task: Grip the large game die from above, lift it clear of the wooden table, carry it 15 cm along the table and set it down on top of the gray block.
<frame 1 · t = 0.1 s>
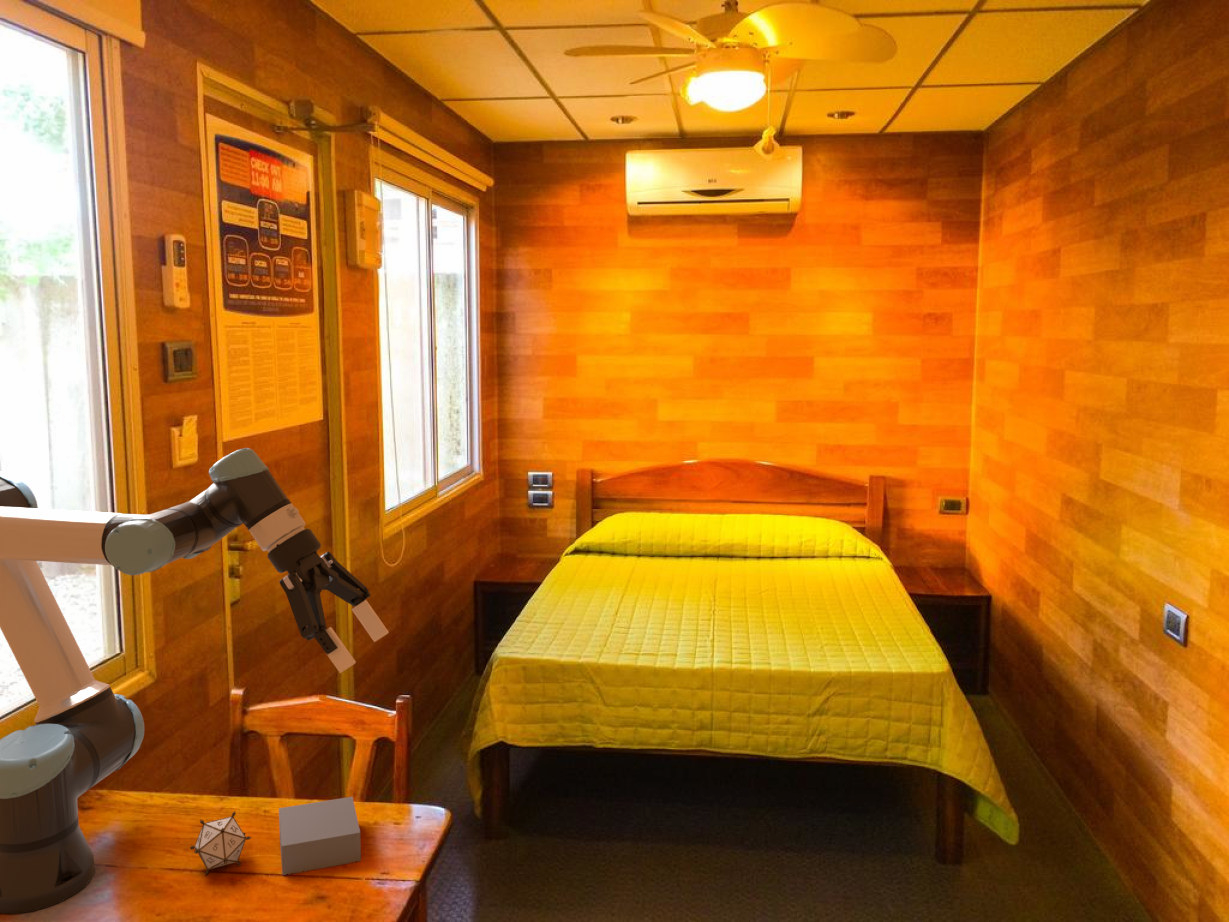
hand: (365, 652, 145), 36 cm above the table, tool tilted 35°, fingers open, 13 cm apart
game die: (221, 866, 149), on the table
gray block: (319, 848, 155), on the table
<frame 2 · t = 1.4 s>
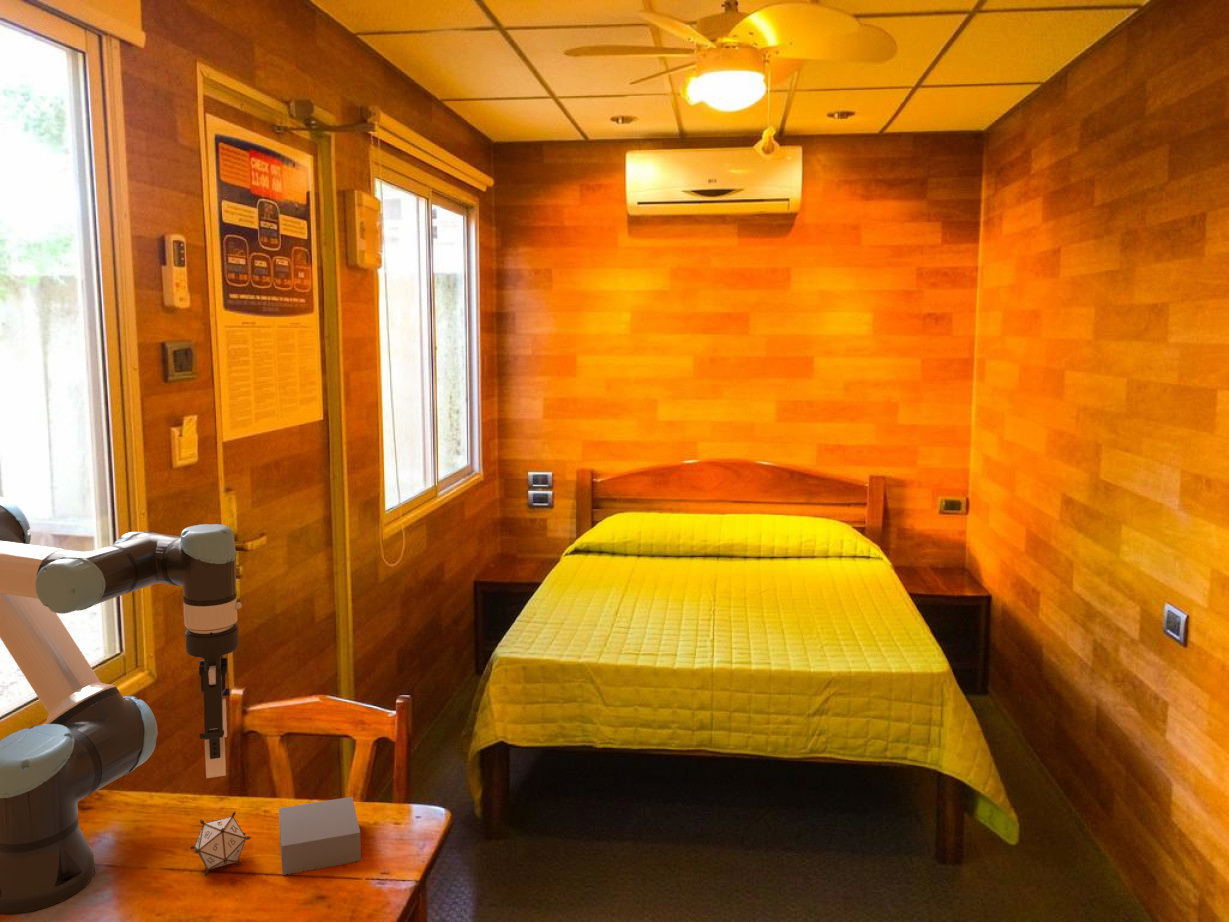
hand: (217, 755, 146), 19 cm above the table, tool pointing down, fingers open, 13 cm apart
nothing on the table moved.
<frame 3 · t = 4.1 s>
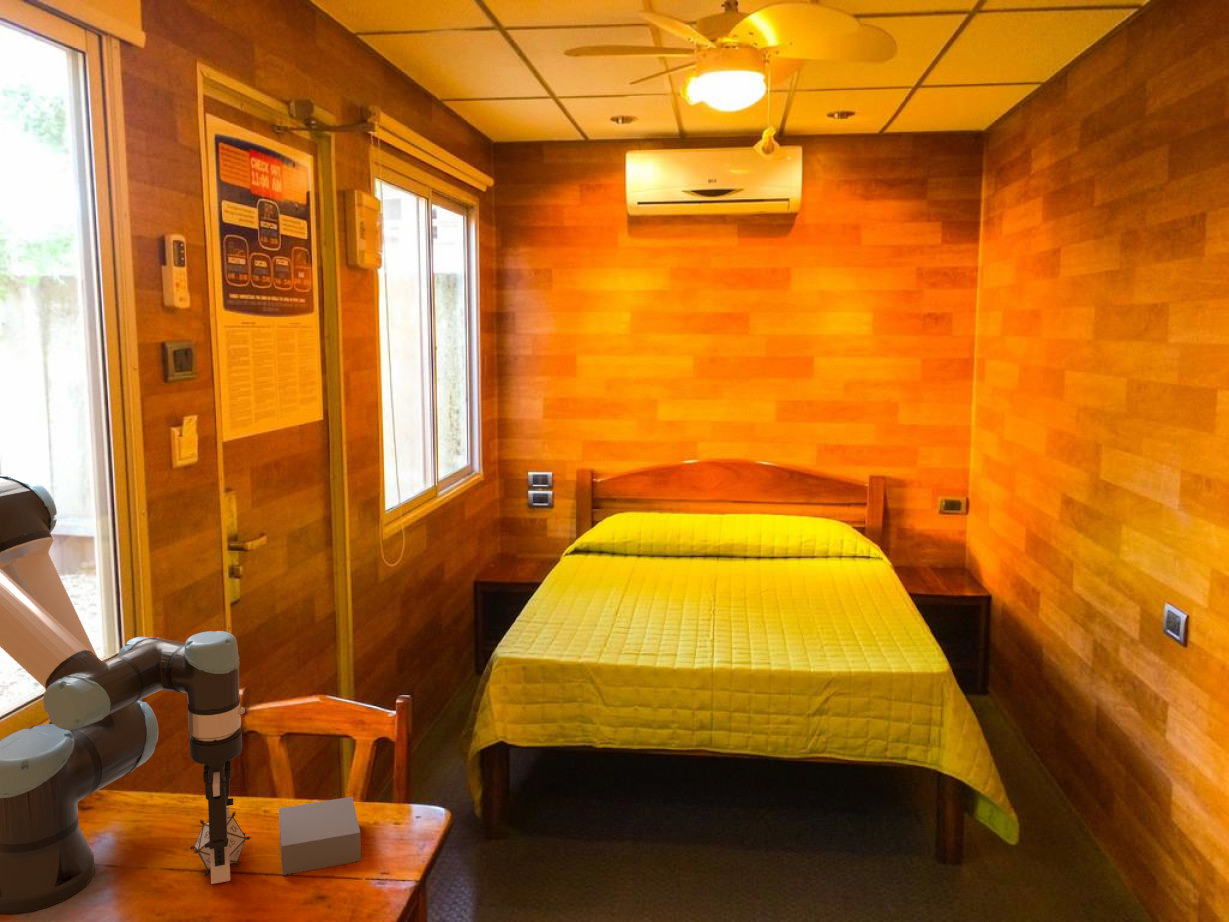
hand: (221, 863, 149), 0 cm above the table, tool pointing down, fingers closed on game die, 9 cm apart
game die: (221, 867, 149), on the table, touching gripper
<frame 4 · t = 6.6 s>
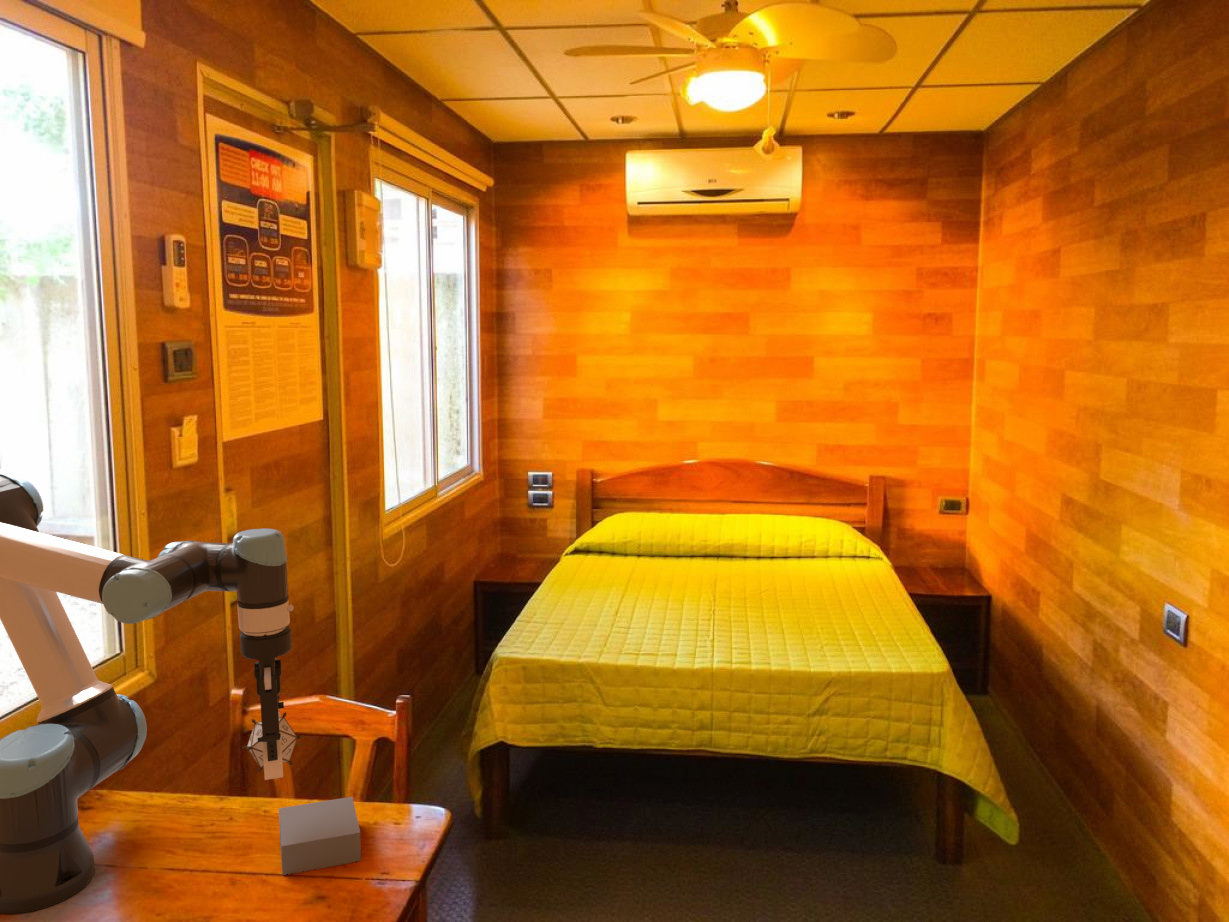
hand: (273, 763, 149), 16 cm above the table, tool pointing down, fingers closed on game die, 9 cm apart
game die: (273, 766, 149), point 16 cm above the table, touching gripper
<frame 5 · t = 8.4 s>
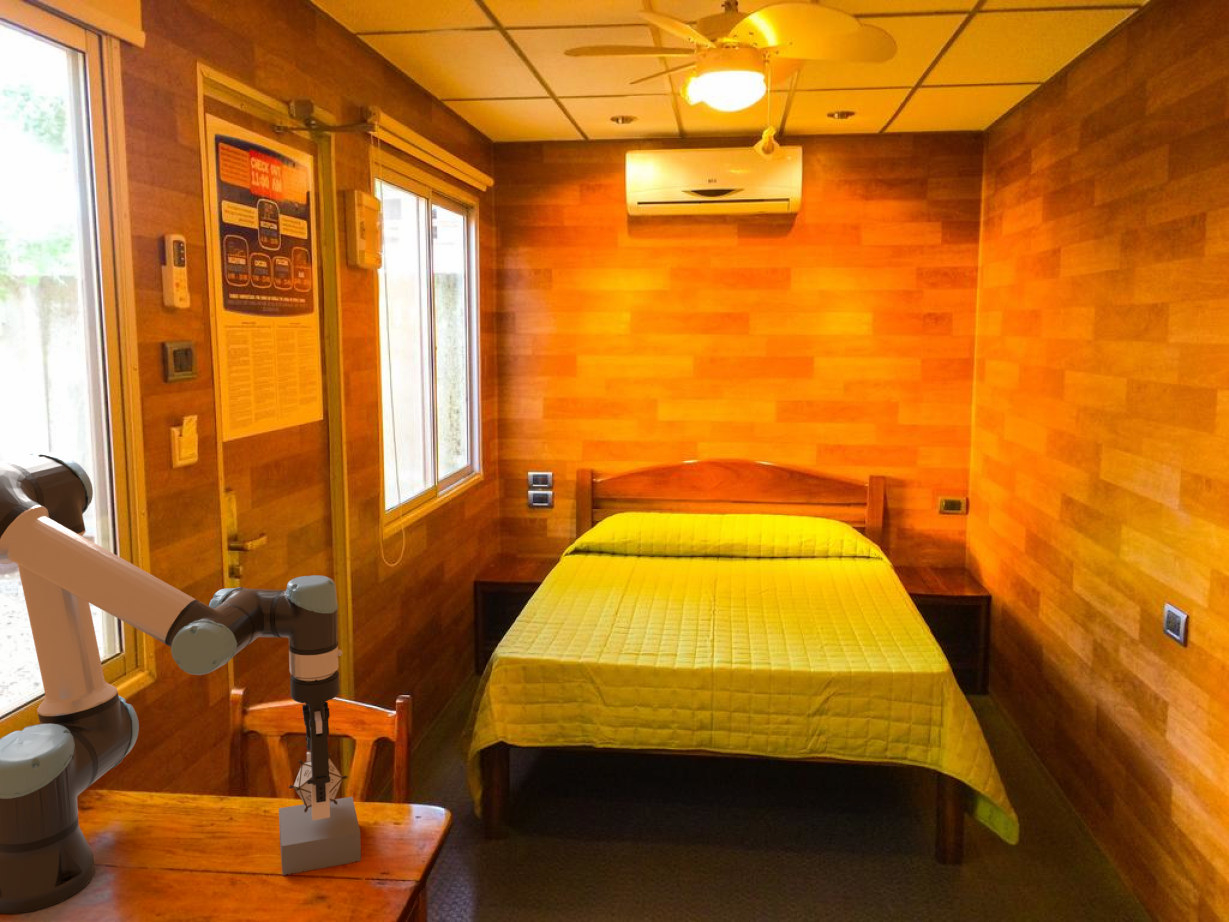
hand: (318, 802, 153), 8 cm above the table, tool pointing down, fingers closed on game die, 9 cm apart
game die: (318, 805, 153), point 8 cm above the table, touching gripper
when the fingers open (7 cm above the table, at t = 9.5 s): game die drops 2 cm, resting on gray block.
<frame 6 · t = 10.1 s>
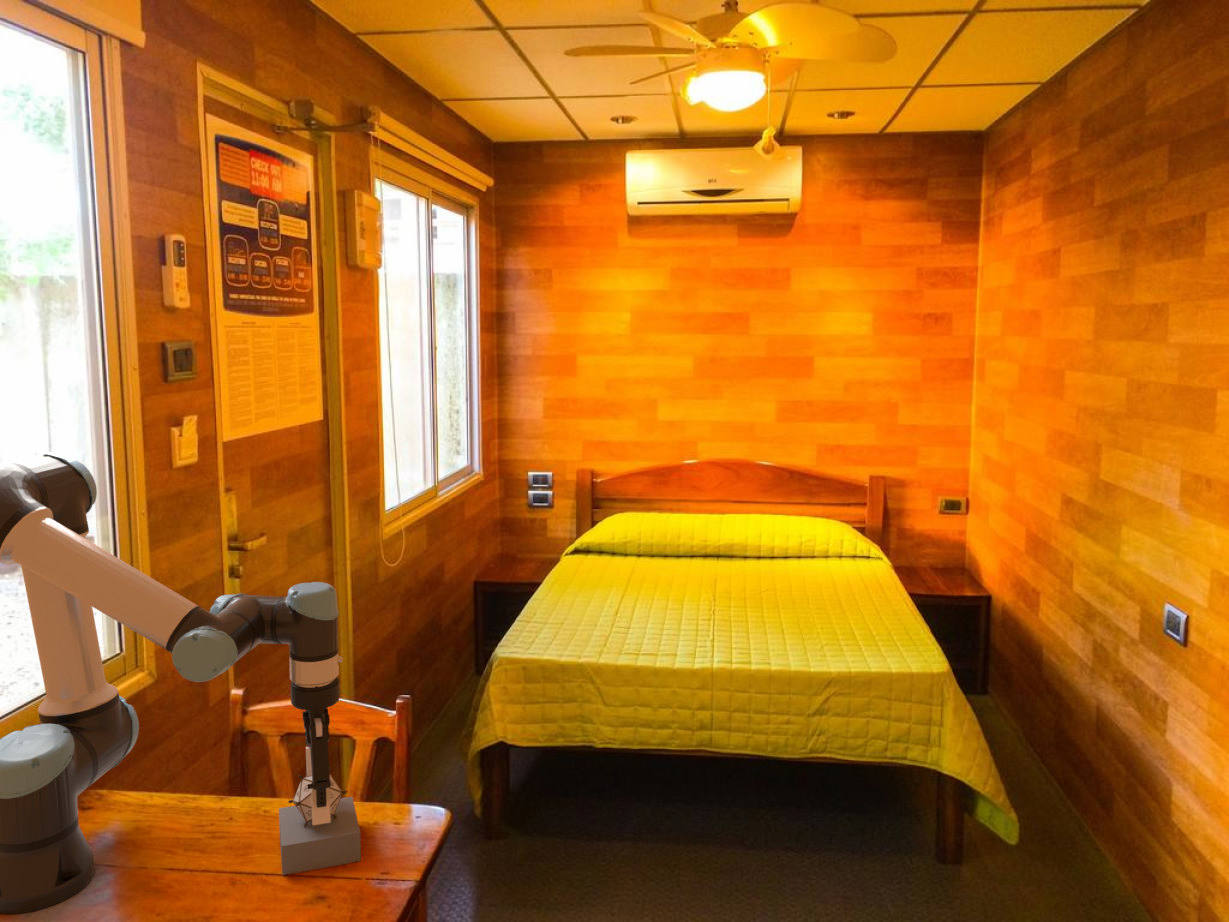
hand: (318, 802, 153), 8 cm above the table, tool pointing down, fingers open, 13 cm apart
game die: (318, 820, 154), point 5 cm above the table, touching gray block
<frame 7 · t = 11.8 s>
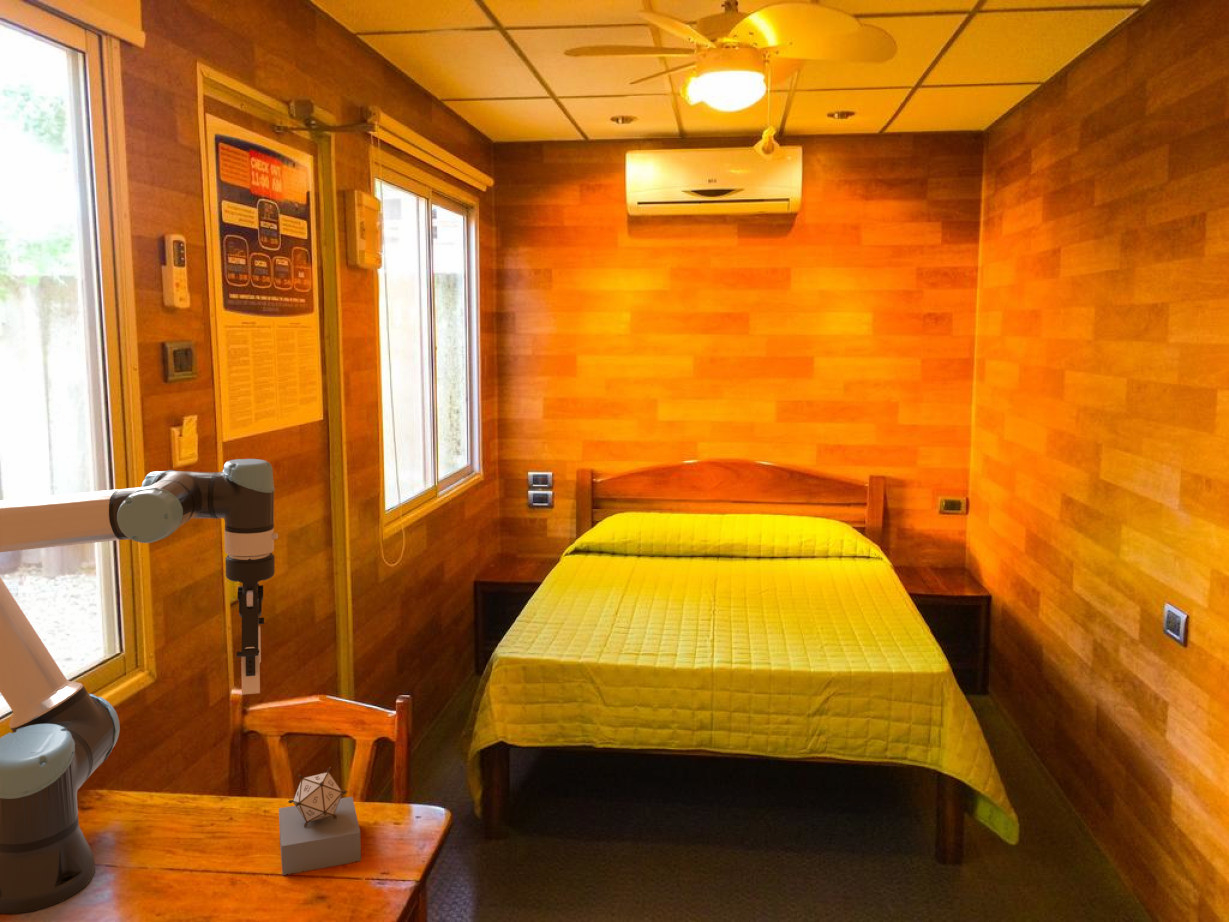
hand: (251, 677, 156), 27 cm above the table, tool pointing down, fingers open, 13 cm apart
nothing on the table moved.
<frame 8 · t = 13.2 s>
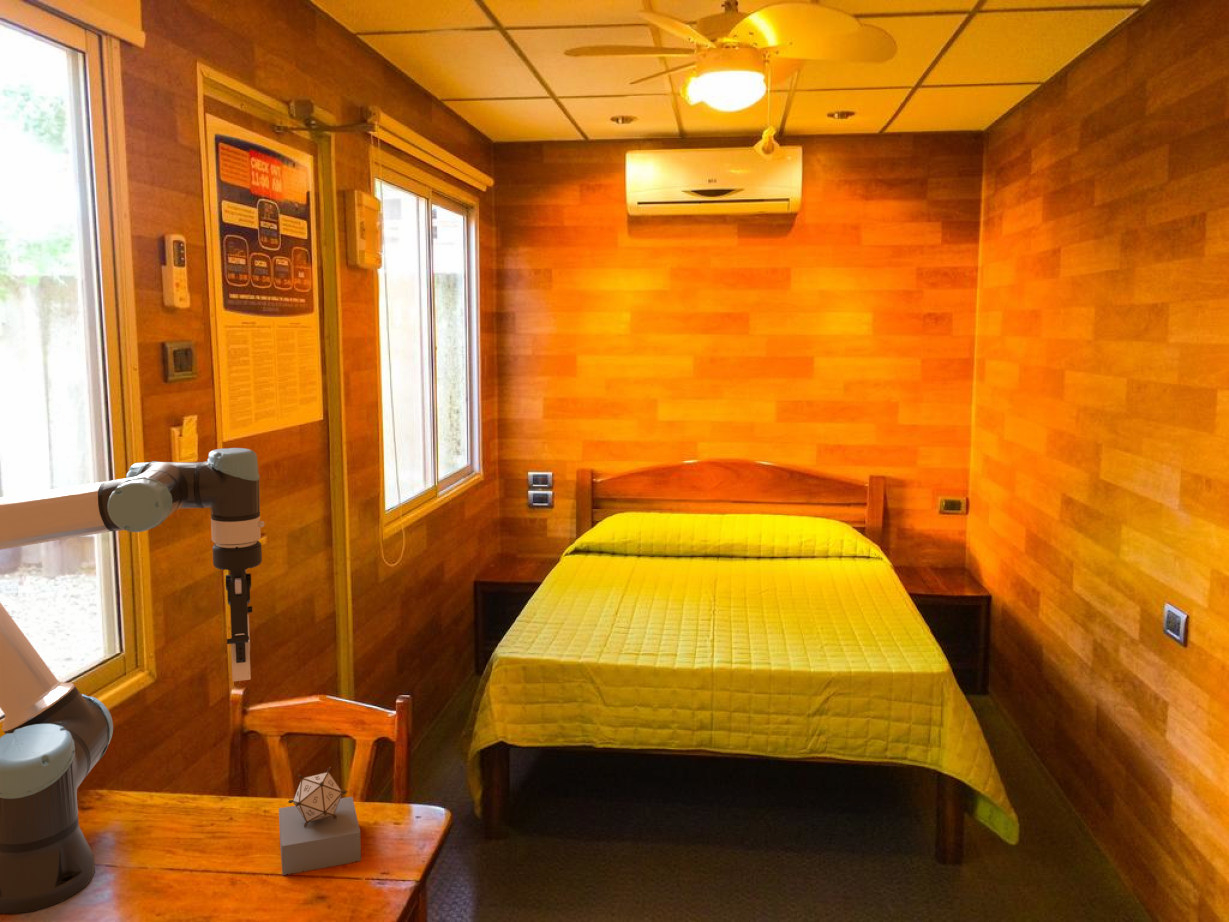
hand: (241, 665, 157), 29 cm above the table, tool pointing down, fingers open, 13 cm apart
nothing on the table moved.
at the end: game die inside the target area on the gray block (0.3 cm from its centre), point 4.8 cm above the gray block's base; game die touching gray block; the gripper is holding nothing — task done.
